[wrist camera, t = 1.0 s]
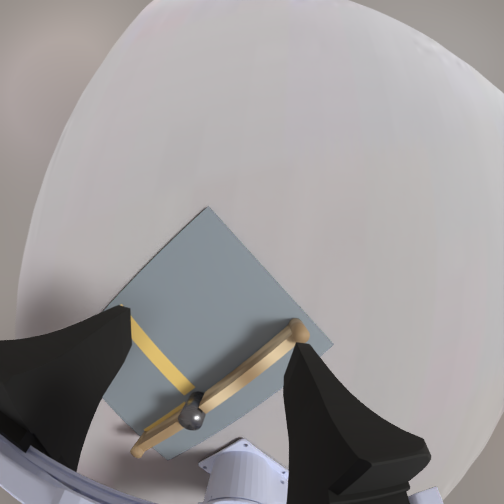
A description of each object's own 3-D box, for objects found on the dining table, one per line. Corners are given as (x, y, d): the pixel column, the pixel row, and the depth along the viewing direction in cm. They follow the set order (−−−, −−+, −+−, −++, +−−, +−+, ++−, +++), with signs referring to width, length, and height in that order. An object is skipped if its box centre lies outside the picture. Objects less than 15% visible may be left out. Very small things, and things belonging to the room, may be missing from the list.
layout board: (332, 343, 27) (334, 344, 26) (168, 458, 27) (167, 460, 26) (209, 207, 28) (208, 205, 27) (69, 351, 27) (66, 353, 27)
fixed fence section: (194, 412, 26) (185, 432, 22) (148, 441, 26) (137, 459, 22) (185, 403, 26) (174, 422, 22) (140, 433, 26) (128, 451, 22)
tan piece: (212, 399, 26) (205, 418, 22) (203, 390, 26) (195, 409, 22) (305, 325, 26) (313, 336, 22) (296, 315, 26) (302, 324, 22)
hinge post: (214, 402, 26) (207, 423, 22) (199, 412, 26) (190, 434, 22) (199, 387, 26) (189, 407, 22) (184, 398, 26) (173, 418, 22)
